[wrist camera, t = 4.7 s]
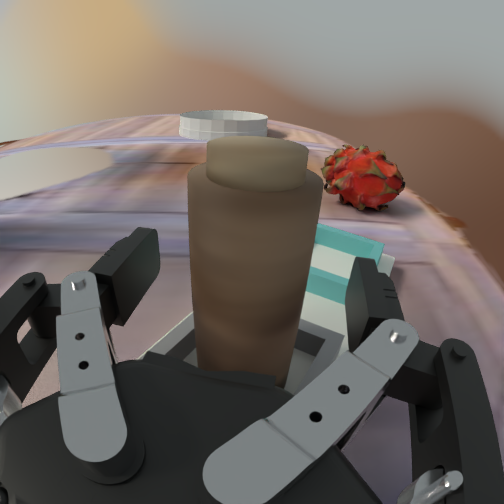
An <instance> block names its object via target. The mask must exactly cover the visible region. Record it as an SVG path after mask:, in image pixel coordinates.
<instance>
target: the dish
mask: <svg viewBox="0 0 504 504" xmlns="http://www.w3.org/2000/svg"><path fill="white" fill-rule="evenodd" d="M267 119H268V117H267V116H265V115H262V114H258V113H253V112H244V111H231V110H230V111H229V110H205V111H192V112H186V113H182V114H180V125H179V135H181V136H182V137H186V138H190V139H197V140H208V141H210V140H213V139H216V138H221V137H228V136H263V137H266V136H267V129H268V127H267Z"/></svg>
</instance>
